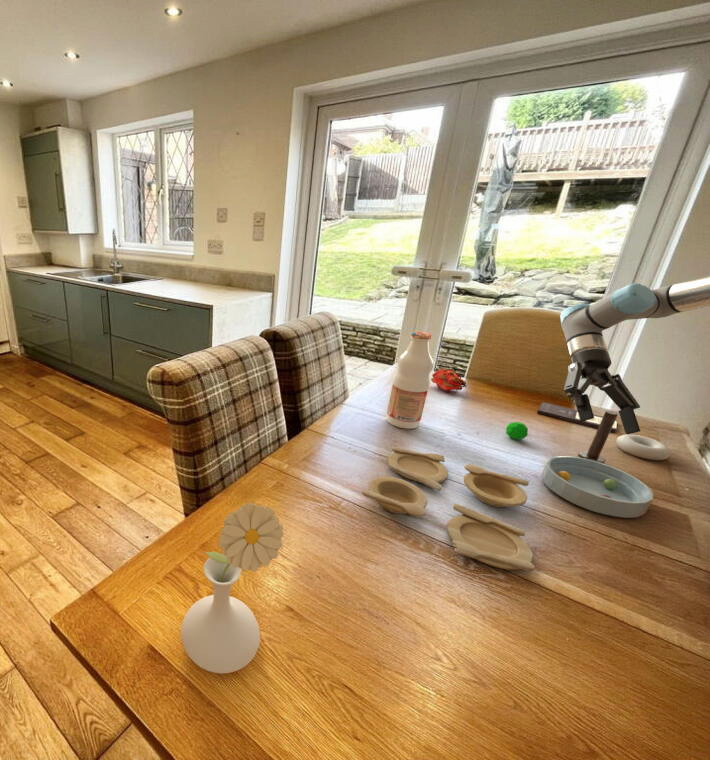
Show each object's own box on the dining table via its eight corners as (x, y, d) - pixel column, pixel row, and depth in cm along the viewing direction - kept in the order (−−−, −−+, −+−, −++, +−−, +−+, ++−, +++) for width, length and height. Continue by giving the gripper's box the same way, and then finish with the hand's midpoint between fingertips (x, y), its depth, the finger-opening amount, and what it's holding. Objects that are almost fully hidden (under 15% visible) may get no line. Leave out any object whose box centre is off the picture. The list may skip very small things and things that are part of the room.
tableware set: (531, 593, 65) (539, 574, 63) (352, 517, 81) (355, 501, 80) (529, 487, 91) (534, 472, 89) (394, 446, 107) (396, 433, 106)
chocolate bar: (542, 401, 132) (616, 419, 120) (541, 404, 132) (615, 422, 121) (538, 410, 126) (616, 430, 114) (537, 412, 127) (615, 432, 115)
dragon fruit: (427, 387, 150) (459, 402, 142) (422, 379, 144) (454, 394, 136) (441, 368, 149) (474, 383, 141) (436, 360, 144) (470, 374, 135)
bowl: (646, 496, 88) (655, 480, 86) (640, 533, 78) (650, 515, 76) (549, 463, 100) (555, 448, 98) (532, 490, 90) (538, 474, 88)
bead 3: (611, 505, 84) (615, 496, 83) (609, 510, 83) (614, 501, 82) (596, 499, 86) (600, 490, 85) (594, 504, 84) (598, 495, 83)
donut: (626, 440, 111) (605, 446, 108) (631, 429, 110) (610, 435, 107) (675, 459, 103) (654, 466, 99) (682, 447, 101) (661, 454, 98)
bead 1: (569, 481, 92) (573, 472, 91) (567, 485, 91) (571, 476, 90) (556, 476, 94) (559, 467, 93) (554, 480, 92) (557, 471, 91)
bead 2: (616, 489, 89) (620, 480, 88) (615, 493, 88) (619, 484, 87) (601, 484, 91) (605, 475, 90) (600, 488, 90) (604, 479, 89)
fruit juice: (378, 417, 123) (395, 330, 113) (404, 413, 126) (422, 328, 115) (399, 431, 115) (420, 338, 104) (426, 427, 117) (449, 336, 107)
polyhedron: (529, 442, 109) (535, 427, 108) (511, 442, 110) (516, 427, 108) (516, 433, 114) (521, 419, 112) (499, 433, 114) (504, 418, 112)
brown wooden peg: (604, 461, 101) (627, 413, 96) (602, 469, 98) (625, 419, 93) (579, 453, 104) (599, 406, 99) (575, 460, 101) (596, 411, 96)
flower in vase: (172, 672, 53) (167, 527, 44) (190, 598, 64) (189, 468, 54) (269, 692, 51) (286, 543, 42) (271, 612, 61) (285, 479, 52)
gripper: (612, 372, 113) (634, 441, 104) (536, 349, 111) (552, 418, 101) (643, 360, 107) (670, 433, 97) (563, 335, 104) (583, 408, 95)
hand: (610, 426), depth 99 cm, fingers open, 13 cm apart
